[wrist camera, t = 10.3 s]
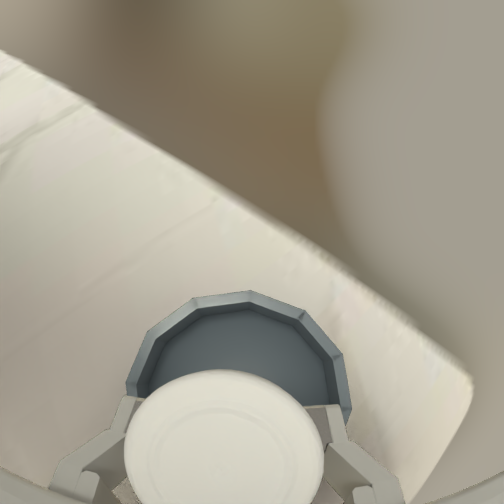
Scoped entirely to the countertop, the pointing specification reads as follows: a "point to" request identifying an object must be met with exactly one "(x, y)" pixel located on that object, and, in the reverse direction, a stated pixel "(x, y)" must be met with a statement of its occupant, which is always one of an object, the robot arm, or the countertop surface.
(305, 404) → the slate bowl
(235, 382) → the sprinkles bottle
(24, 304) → the countertop surface
